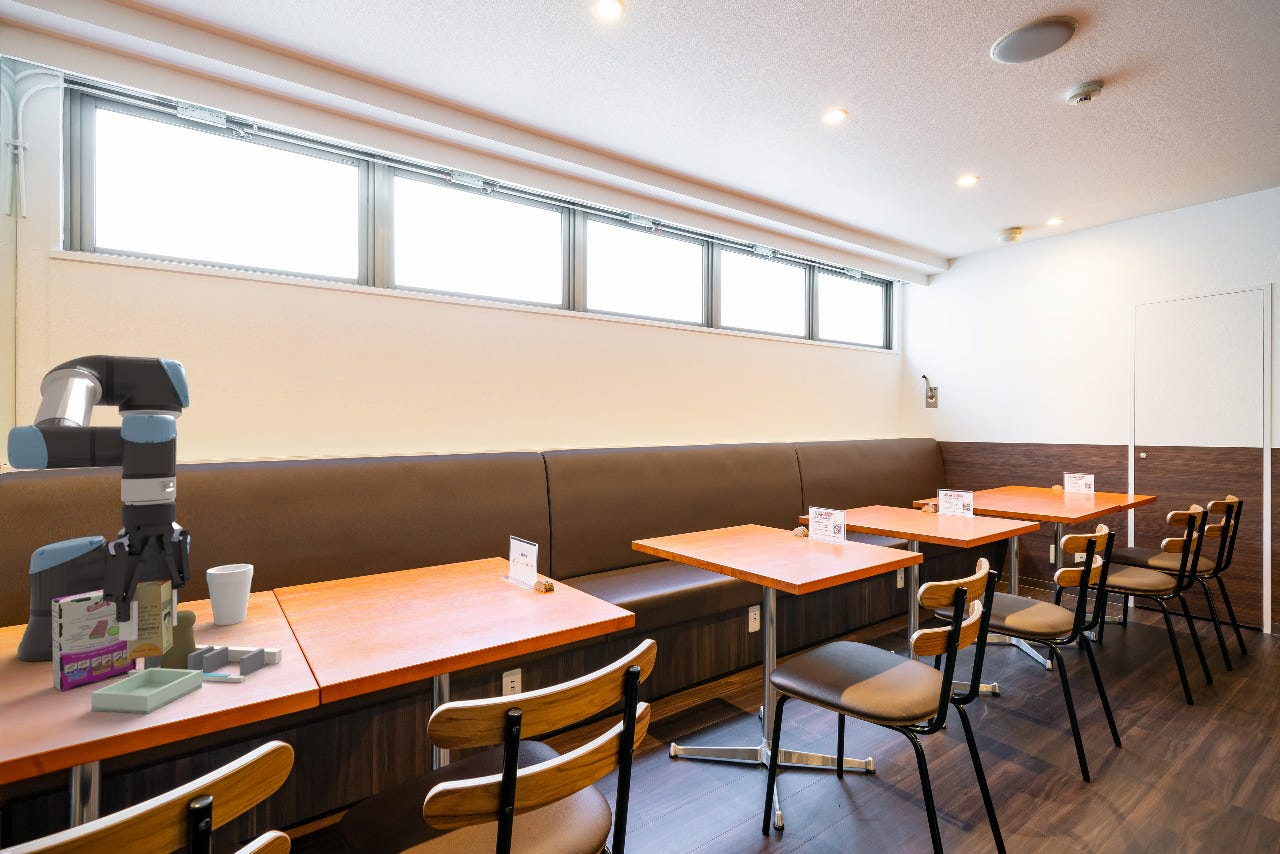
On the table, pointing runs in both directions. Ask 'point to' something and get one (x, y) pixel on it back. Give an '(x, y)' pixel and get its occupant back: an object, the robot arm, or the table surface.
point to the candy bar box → (86, 641)
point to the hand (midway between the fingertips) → (149, 631)
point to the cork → (181, 642)
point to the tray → (146, 690)
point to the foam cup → (229, 592)
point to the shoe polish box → (152, 620)
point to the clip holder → (222, 661)
